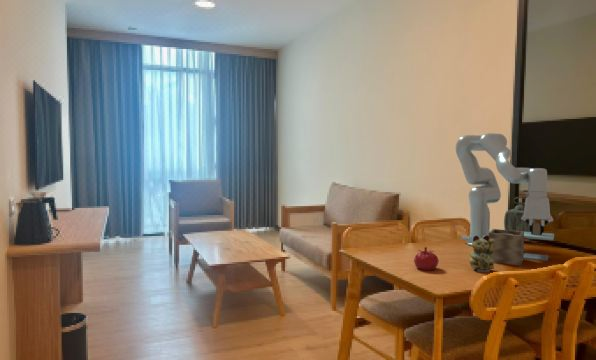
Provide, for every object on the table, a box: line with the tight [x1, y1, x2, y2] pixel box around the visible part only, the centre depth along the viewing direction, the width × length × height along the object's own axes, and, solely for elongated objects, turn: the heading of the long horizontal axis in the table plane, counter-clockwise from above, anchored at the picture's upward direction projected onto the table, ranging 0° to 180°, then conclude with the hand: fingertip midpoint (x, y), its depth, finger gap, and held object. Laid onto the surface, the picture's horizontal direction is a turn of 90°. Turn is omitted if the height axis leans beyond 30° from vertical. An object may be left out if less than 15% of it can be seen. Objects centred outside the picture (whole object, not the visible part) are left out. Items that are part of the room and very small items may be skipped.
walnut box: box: [489, 228, 525, 266], centre depth 187 cm, size 13×13×13 cm
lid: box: [524, 222, 555, 241], centre depth 192 cm, size 14×14×6 cm
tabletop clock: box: [503, 196, 537, 243], centre depth 230 cm, size 14×9×25 cm, turn 49°
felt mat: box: [523, 252, 549, 262], centre depth 193 cm, size 10×10×1 cm
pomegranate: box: [413, 246, 440, 271], centre depth 174 cm, size 10×10×9 cm
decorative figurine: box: [468, 235, 495, 273], centre depth 172 cm, size 10×8×15 cm
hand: (536, 233), depth 192 cm, fingers closed on lid, 3 cm apart
